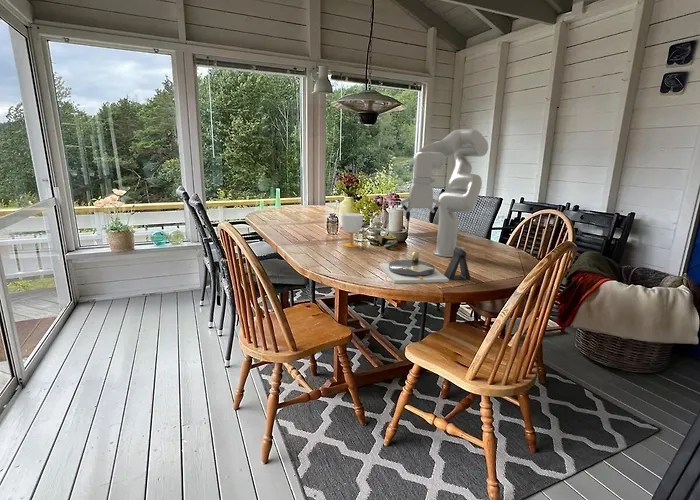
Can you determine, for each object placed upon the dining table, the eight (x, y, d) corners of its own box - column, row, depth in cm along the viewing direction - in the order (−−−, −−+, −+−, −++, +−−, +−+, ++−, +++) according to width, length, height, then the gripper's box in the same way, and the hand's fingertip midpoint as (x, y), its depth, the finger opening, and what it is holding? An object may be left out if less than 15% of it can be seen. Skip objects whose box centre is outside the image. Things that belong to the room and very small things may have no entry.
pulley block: (379, 238, 197) (370, 228, 226) (377, 249, 198) (368, 237, 227) (406, 242, 199) (393, 231, 228) (403, 253, 200) (391, 241, 229)
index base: (426, 265, 173) (427, 261, 173) (448, 281, 150) (448, 277, 150) (379, 266, 170) (379, 262, 169) (394, 283, 147) (394, 279, 146)
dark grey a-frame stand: (465, 275, 159) (468, 247, 156) (470, 280, 153) (473, 251, 150) (444, 275, 158) (446, 247, 156) (448, 279, 153) (451, 250, 150)
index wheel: (425, 262, 171) (426, 250, 170) (441, 275, 153) (442, 262, 152) (383, 263, 168) (384, 251, 167) (395, 276, 150) (396, 263, 148)
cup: (341, 242, 214) (341, 212, 210) (362, 243, 213) (363, 213, 209) (339, 247, 202) (340, 215, 198) (362, 248, 202) (363, 216, 198)
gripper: (440, 181, 167) (437, 220, 171) (400, 180, 167) (398, 219, 171) (444, 182, 159) (440, 223, 163) (402, 181, 160) (400, 221, 164)
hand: (419, 221), depth 167 cm, fingers open, 9 cm apart
